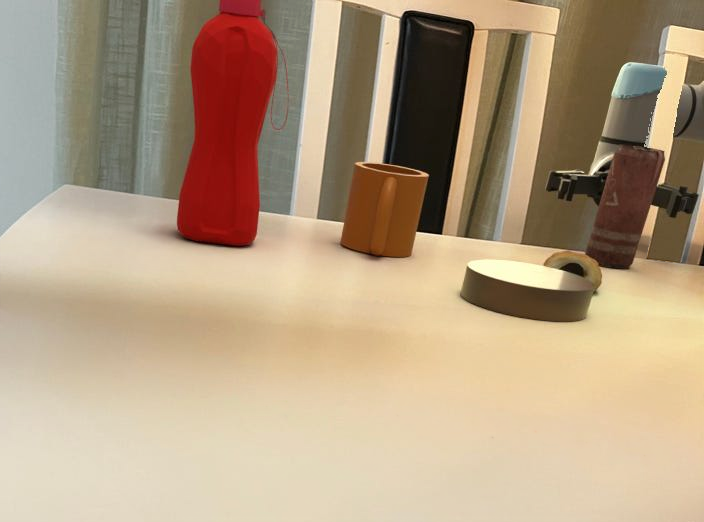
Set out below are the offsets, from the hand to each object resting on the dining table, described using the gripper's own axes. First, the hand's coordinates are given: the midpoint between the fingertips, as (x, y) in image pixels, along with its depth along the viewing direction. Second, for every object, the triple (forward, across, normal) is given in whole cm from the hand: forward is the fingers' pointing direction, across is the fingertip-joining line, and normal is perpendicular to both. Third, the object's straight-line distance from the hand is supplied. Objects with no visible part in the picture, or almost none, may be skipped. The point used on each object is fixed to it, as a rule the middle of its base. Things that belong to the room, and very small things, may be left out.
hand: (623, 198), depth 134 cm
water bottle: (+36, +44, -8) cm, 58 cm away
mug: (+26, +28, -8) cm, 39 cm away
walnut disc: (+42, +10, -7) cm, 44 cm away
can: (+7, 0, -8) cm, 10 cm away
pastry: (+27, +5, -8) cm, 29 cm away
